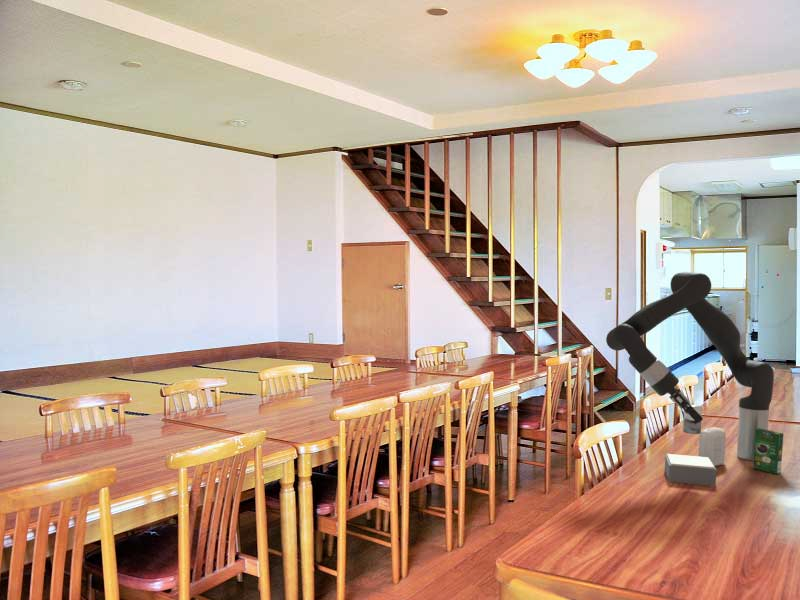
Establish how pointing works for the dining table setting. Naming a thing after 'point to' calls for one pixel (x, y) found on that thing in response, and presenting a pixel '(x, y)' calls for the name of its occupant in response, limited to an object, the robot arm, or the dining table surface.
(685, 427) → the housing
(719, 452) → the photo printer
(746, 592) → the dining table surface
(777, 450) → the coffee box
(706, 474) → the stand
